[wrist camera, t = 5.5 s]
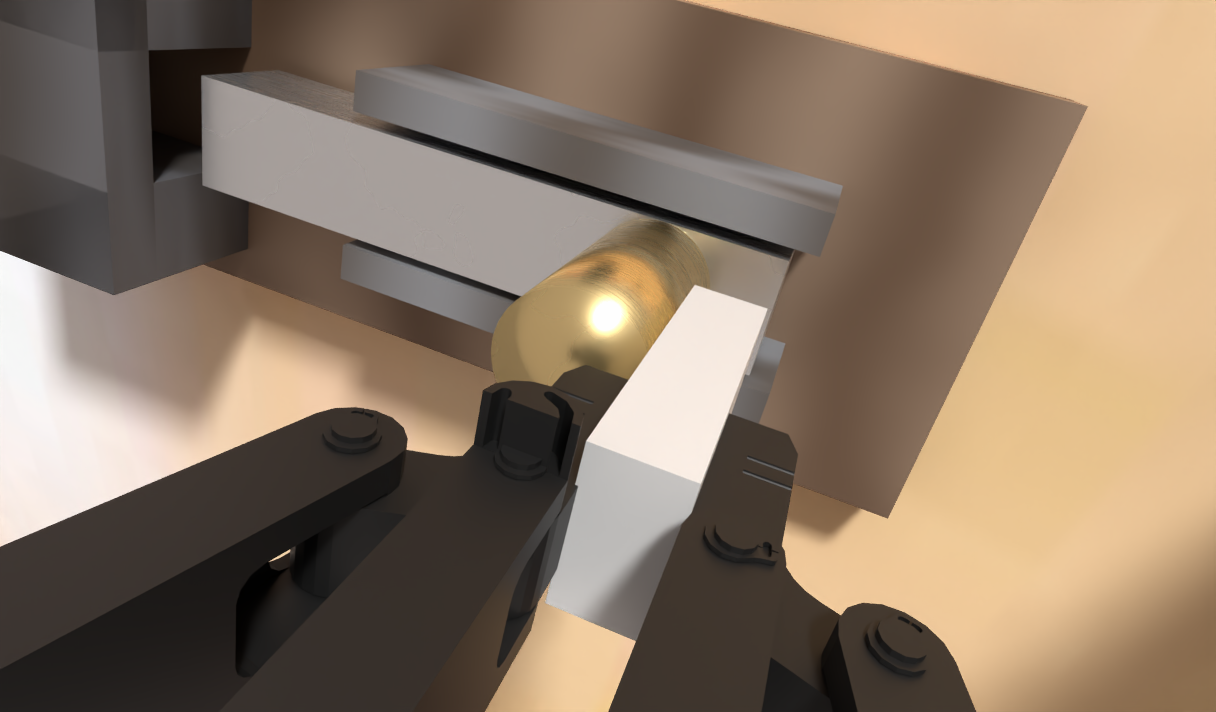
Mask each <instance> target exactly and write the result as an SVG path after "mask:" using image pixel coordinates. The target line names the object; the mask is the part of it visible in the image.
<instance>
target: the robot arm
mask: <svg viewBox="0 0 1216 712" xmlns="http://www.w3.org/2000/svg"><path fill="white" fill-rule="evenodd" d="M766 312H767V308H764V307H761V306H758V305H755V304H752V303H749V302H746V301H743V300H739V299H736V298H733V297H730V296H727V295H724V294H721V293H718V292H715V291H712V290H709V289H706V288H703V287H700V286H697V285H694V287H693V288H692V290H691V291H690V293H689V294H688V296H687V297H686V298H685V300H684V301H683V303H682V304H681V306H680V307H679V308H678V310H677V311H676V313H675V314H674V316H673V317H672V319H671V320H670V321H669V323H668V324H667V326H666V327H665V329H664V330H663V331H662V333H661V334H660V336H659V337H658V339H657V340H656V341H655V343H654V344H653V346H652V347H651V349H650V350H649V352H648V353H647V354H646V356H645V357H644V359H643V360H642V362H641V363H640V364H639V366H638V367H637V369H636V370H635V372H634V373H633V374H632V376H631V377H630V379H629V380H628V379H625V378H622V377H619V376H616V375H614V374H611V373H608V372H605V371H602V370H600V369H597V368H594V367H591V366H588V365H583V366H581V367H578V368H575V369H572V370H570V371H567V372H564V373H563V374H562V375H561V376H560V377H559V378H558V380H557V381H556V382H555V383H554V384H553V385H552V386H548V385H544V384H540V383H536V382H532V381H515V380H512V381H506V382H501V383H495V384H494V385H492V386H490V387H488V388H486V389H485V390H483V394H482V400H481V406H480V412H479V417H478V423H477V429H476V434H475V440H474V445H473V446H472V447H471V448H470V449H469V450H468V451H467V452H466V453H465V454H464V455H463V456H455V457H454V456H443V455H435V454H428V453H422V452H416V451H410V450H406V448H407V440H408V439H407V436H406V433H405V430H404V428H403V427H402V426H401V425H400V424H399V423H398V422H396V421H395V420H394V419H393V418H392V417H389V416H387V415H384V414H382V413H380V412H377V411H374V410H369V409H364V408H356V407H353V408H334V409H330V410H327V411H323V412H319V413H316V414H313V415H311V416H309V417H306V418H304V419H302V420H299V421H297V422H295V423H292V424H290V425H287V426H285V427H283V428H280V429H278V430H276V431H273V432H271V433H269V434H266V435H264V436H261V437H259V438H257V439H254V440H252V441H250V442H247V443H245V444H242V445H240V446H238V447H235V448H233V449H231V450H228V451H226V452H224V453H221V454H219V455H216V456H214V457H212V458H209V459H207V460H205V461H202V462H200V463H197V464H195V465H193V466H190V467H188V468H186V469H183V470H181V471H179V472H176V473H174V474H171V475H169V476H167V477H164V478H162V479H160V480H157V481H155V482H153V483H150V484H148V485H145V486H143V487H141V488H138V489H136V490H134V491H131V492H129V493H126V494H124V495H122V496H119V497H117V498H115V499H112V500H110V501H108V502H105V503H103V504H100V505H98V506H96V507H93V508H91V509H89V510H86V511H84V512H81V513H79V514H77V515H74V516H72V517H70V518H67V519H65V520H63V521H60V522H58V523H55V524H53V525H51V526H48V527H46V528H44V529H41V530H39V531H37V532H34V533H32V534H29V535H27V536H25V537H22V538H20V539H18V540H15V541H13V542H10V543H8V544H6V545H3V546H1V547H0V712H485V710H486V708H487V706H488V705H489V703H490V701H491V699H492V698H493V696H494V694H495V692H496V691H497V689H498V687H499V685H500V684H501V682H502V680H503V678H504V676H505V675H506V673H507V671H508V669H509V668H510V666H511V664H512V662H513V661H514V659H515V657H516V655H517V654H518V652H519V650H520V648H521V646H522V645H523V643H524V641H525V639H526V638H527V636H528V634H529V632H530V631H531V627H532V624H533V620H534V616H535V612H536V608H537V604H538V601H539V599H540V598H541V596H542V594H543V593H544V591H545V589H546V587H547V586H548V584H549V582H550V581H551V582H550V586H549V590H548V594H547V598H546V602H545V603H546V604H549V605H551V606H554V607H556V608H558V609H561V610H563V611H565V612H568V613H570V614H573V615H575V616H577V617H580V618H582V619H585V620H587V621H589V622H592V623H594V624H597V625H599V626H601V627H604V628H606V629H608V630H611V631H613V632H616V633H618V634H620V635H623V636H625V637H628V638H630V639H632V640H635V641H636V643H635V645H634V648H633V650H632V653H631V655H630V658H629V661H628V663H627V666H626V668H625V671H624V673H623V676H622V678H621V681H620V683H619V686H618V689H617V691H616V694H615V696H614V699H613V701H612V704H611V706H610V709H609V712H976V710H975V708H974V705H973V703H972V700H971V698H970V696H969V693H968V691H967V688H966V686H965V683H964V681H963V679H962V676H961V674H960V671H959V669H958V666H957V664H956V662H955V660H954V658H953V657H952V655H951V654H950V652H949V650H948V649H947V647H946V645H945V644H944V643H943V642H942V641H941V640H940V639H939V638H938V637H937V636H936V635H935V634H934V633H933V632H932V631H931V630H930V629H929V628H928V627H927V626H926V625H924V624H922V623H921V622H919V621H918V620H916V619H914V618H913V617H911V616H909V615H908V614H906V613H905V612H902V611H899V610H896V609H894V608H891V607H888V606H885V605H882V604H870V603H861V604H857V605H854V606H851V607H848V608H847V609H846V610H845V611H844V613H843V614H842V615H839V614H838V613H836V612H835V611H833V610H831V609H830V608H828V607H827V606H825V605H824V604H822V603H821V602H819V601H818V600H817V599H815V598H814V597H813V596H811V595H810V594H809V593H807V592H806V591H805V590H804V589H803V588H802V587H801V586H800V585H799V584H798V583H797V582H796V581H795V580H794V579H793V577H792V576H791V574H790V573H789V571H788V570H787V568H786V558H785V551H784V549H783V547H782V541H783V535H784V530H785V524H786V519H787V513H788V508H789V502H790V497H791V489H792V486H793V480H794V473H795V469H796V463H797V458H798V453H797V451H796V449H795V447H794V445H793V443H792V441H791V439H790V437H789V435H788V434H786V433H783V432H781V431H778V430H775V429H772V428H769V427H767V426H764V425H761V424H758V423H755V422H752V421H750V420H747V419H744V418H741V417H738V416H736V415H733V414H731V413H732V410H733V408H734V405H735V402H736V399H737V396H738V393H739V390H740V387H741V384H742V382H743V379H744V376H745V373H746V370H747V367H748V364H749V361H750V359H751V356H752V353H753V350H754V347H755V344H756V341H757V338H758V335H759V333H760V330H761V327H762V324H763V321H764V318H765V315H766ZM289 549H290V553H288V554H286V555H284V556H283V557H281V558H279V559H276V560H274V561H271V562H269V561H270V560H272V559H274V558H275V557H277V556H279V555H281V554H282V553H284V552H286V551H288V550H289Z"/></svg>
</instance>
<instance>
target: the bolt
mask: <svg viewBox="0 0 1216 712" xmlns="http://www.w3.org/2000/svg"><path fill="white" fill-rule="evenodd" d="M201 89H202V184H203V186H206V187H209V188H212V189H215V190H217V191H220V192H223V193H226V194H229V195H232V196H235V197H237V198H240V199H243V200H246V201H249V202H252V203H255V204H258V205H260V206H263V207H266V208H269V209H272V210H275V211H278V212H281V213H283V214H286V215H289V216H292V217H295V218H298V219H301V220H304V221H306V222H309V223H312V224H315V225H318V226H321V227H324V228H327V229H329V230H332V231H335V232H338V233H341V234H344V235H347V236H349V237H352V238H355V239H358V240H361V241H364V242H367V243H370V244H372V245H375V246H378V247H381V248H384V249H387V250H390V251H393V252H395V253H398V254H401V255H404V256H407V257H410V258H413V259H416V260H418V261H421V262H424V263H427V264H430V265H433V266H436V267H438V268H441V269H444V270H447V271H450V272H453V273H456V274H459V275H461V276H464V277H467V278H470V279H473V280H476V281H479V282H482V283H484V284H487V285H490V286H493V287H496V288H499V289H502V290H505V291H507V292H510V293H513V294H516V295H519V296H521V297H520V298H519V299H517V300H516V301H515V302H514V303H513V304H511V305H510V306H509V307H508V308H507V310H506V311H505V312H504V313H503V315H502V316H501V318H500V320H499V321H498V323H497V326H496V328H495V331H494V334H493V338H492V346H491V361H492V367H493V372H494V375H495V379H496V381H497V383H501V382H506V381H512V380H515V381H532V382H536V383H540V384H544V385H548V386H552V385H553V384H554V383H555V382H556V381H557V380H558V378H559V377H560V376H561V375H562V374H563V373H564V372H567V371H570V370H572V369H575V368H578V367H581V366H583V365H588V366H591V367H594V368H597V369H600V370H602V371H605V372H608V373H611V374H614V375H616V376H619V377H622V378H625V379H628V380H629V379H630V377H631V376H632V374H633V373H634V372H635V370H636V369H637V367H638V366H639V364H640V363H641V362H642V360H643V359H644V357H645V356H646V354H647V353H648V352H649V350H650V349H651V347H652V346H653V344H654V343H655V341H656V340H657V339H658V337H659V336H660V334H661V333H662V331H663V330H664V329H665V327H666V326H667V324H668V323H669V321H670V320H671V319H672V317H673V316H674V314H675V313H676V311H677V310H678V308H679V307H680V306H681V304H682V303H683V301H684V300H685V298H686V297H687V296H688V294H689V293H690V291H691V290H692V288H693V287H694V285H697V286H700V287H703V288H706V289H709V290H712V291H715V292H718V293H721V294H724V295H727V296H730V297H733V298H736V299H739V300H743V301H746V302H749V303H752V304H755V305H758V306H761V307H764V308H767V312H766V315H765V318H764V321H763V324H762V327H761V330H760V333H759V335H758V338H757V341H756V344H755V347H754V350H753V353H752V356H751V359H750V361H749V364H748V367H747V370H746V373H745V374H746V375H750V373H751V370H752V367H753V365H754V362H755V360H756V357H757V355H758V352H759V349H760V347H761V344H762V342H763V339H764V337H765V334H766V331H767V328H768V325H769V323H770V320H771V317H772V314H773V311H774V308H775V305H776V303H777V300H778V297H779V294H780V291H781V288H782V285H783V283H784V280H785V277H786V274H787V271H788V268H789V265H790V262H791V260H792V257H793V254H794V251H795V249H792V248H789V247H786V246H783V245H779V244H776V243H773V242H770V241H767V240H763V239H760V238H757V237H754V236H751V235H747V234H744V233H741V232H738V231H735V230H731V229H728V228H725V227H722V226H719V225H716V224H712V223H709V222H706V221H703V220H700V219H696V218H693V217H690V216H687V215H684V214H680V213H677V212H674V211H671V210H668V209H664V208H661V207H658V206H655V205H652V204H648V203H645V202H642V201H639V200H636V199H632V198H629V197H626V196H623V195H620V194H616V193H613V192H610V191H607V190H604V189H600V188H597V187H594V186H591V185H588V184H584V183H581V182H578V181H575V180H572V179H568V178H565V177H562V176H559V175H556V174H552V173H549V172H546V171H543V170H540V169H536V168H533V167H530V166H527V165H524V164H520V163H517V162H514V161H511V160H508V159H505V158H501V157H498V156H495V155H492V154H489V153H485V152H482V151H479V150H476V149H473V148H469V147H466V146H463V145H460V144H457V143H453V142H450V141H447V140H444V139H441V138H437V137H434V136H431V135H428V134H425V133H421V132H418V131H415V130H412V129H409V128H405V127H402V126H399V125H396V124H393V123H389V122H386V121H383V120H380V119H377V118H373V117H370V116H367V115H364V114H361V113H357V112H354V111H353V103H354V93H351V92H348V91H345V90H342V89H338V88H335V87H332V86H329V85H325V84H322V83H319V82H316V81H312V80H309V79H306V78H303V77H299V76H296V75H293V74H290V73H286V72H283V71H280V70H273V71H258V72H244V73H229V74H215V75H201Z"/></svg>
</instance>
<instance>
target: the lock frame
mask: <svg viewBox="0 0 1216 712" xmlns="http://www.w3.org/2000/svg"><path fill="white" fill-rule="evenodd" d="M273 70H280V71H283V72H286V73H290V74H293V75H296V76H299V77H303V78H306V79H309V80H312V81H316V82H319V83H322V84H325V85H329V86H332V87H335V88H338V89H342V90H345V91H348V92H351V93H354V103H353V111H354V112H357V113H361V114H364V115H367V116H370V117H373V118H377V119H380V120H383V121H386V122H389V123H393V124H396V125H399V126H402V127H405V128H409V129H412V130H415V131H418V132H421V133H425V134H428V135H431V136H434V137H437V138H441V139H444V140H447V141H450V142H453V143H457V144H460V145H463V146H466V147H469V148H473V149H476V150H479V151H482V152H485V153H489V154H492V155H495V156H498V157H501V158H505V159H508V160H511V161H514V162H517V163H520V164H524V165H527V166H530V167H533V168H536V169H540V170H543V171H546V172H549V173H552V174H556V175H559V176H562V177H565V178H568V179H572V180H575V181H578V182H581V183H584V184H588V185H591V186H594V187H597V188H600V189H604V190H607V191H610V192H613V193H616V194H620V195H623V196H626V197H629V198H632V199H636V200H639V201H642V202H645V203H648V204H652V205H655V206H658V207H661V208H664V209H668V210H671V211H674V212H677V213H680V214H684V215H687V216H690V217H693V218H696V219H700V220H703V221H706V222H709V223H712V224H716V225H719V226H722V227H725V228H728V229H731V230H735V231H738V232H741V233H744V234H747V235H751V236H754V237H757V238H760V239H763V240H767V241H770V242H773V243H776V244H779V245H783V246H786V247H789V248H792V249H795V251H794V254H793V257H792V260H791V262H790V265H789V268H788V271H787V274H786V277H785V280H784V283H783V285H782V288H781V291H780V294H779V297H778V300H777V303H776V305H775V308H774V311H773V314H772V317H771V320H770V323H769V325H768V328H767V331H766V334H765V337H764V339H763V342H762V344H761V347H760V349H759V352H758V355H757V357H756V360H755V362H754V365H753V367H752V370H751V373H750V375H746V374H745V376H744V379H743V382H742V384H741V387H740V390H739V393H738V396H737V399H736V402H735V405H734V408H733V410H732V413H731V414H733V415H736V416H738V417H741V418H744V419H747V420H750V421H752V422H755V423H758V424H761V425H764V426H767V427H769V428H772V429H775V430H778V431H781V432H783V433H786V434H788V435H789V437H790V439H791V441H792V443H793V445H794V447H795V449H796V451H797V453H798V458H797V463H796V469H795V473H794V480H793V484H796V485H799V486H802V487H804V488H807V489H810V490H812V491H815V492H818V493H820V494H823V495H826V496H829V497H831V498H834V499H837V500H839V501H842V502H845V503H847V504H850V505H853V506H855V507H858V508H861V509H864V510H866V511H869V512H872V513H874V514H877V515H880V516H882V517H885V518H888V517H889V515H890V513H891V511H892V509H893V507H894V505H895V503H896V501H897V498H898V496H899V494H900V492H901V490H902V488H903V486H904V484H905V482H906V480H907V478H908V476H909V474H910V472H911V470H912V468H913V465H914V463H915V461H916V459H917V457H918V455H919V453H920V451H921V449H922V447H923V445H924V443H925V441H926V439H927V437H928V435H929V433H930V430H931V428H932V426H933V424H934V422H935V420H936V418H937V416H938V414H939V412H940V410H941V408H942V406H943V404H944V402H945V400H946V398H947V395H948V393H949V391H950V389H951V387H952V385H953V383H954V381H955V379H956V377H957V375H958V373H959V371H960V369H961V367H962V365H963V363H964V360H965V358H966V356H967V354H968V352H969V350H970V348H971V346H972V344H973V342H974V340H975V338H976V336H977V334H978V332H979V330H980V327H981V325H982V323H983V321H984V319H985V317H986V315H987V313H988V311H989V309H990V307H991V305H992V303H993V301H994V299H995V297H996V295H997V292H998V290H999V288H1000V286H1001V284H1002V282H1003V280H1004V278H1005V276H1006V274H1007V272H1008V270H1009V268H1010V266H1011V264H1012V262H1013V260H1014V257H1015V255H1016V253H1017V251H1018V249H1019V247H1020V245H1021V243H1022V241H1023V239H1024V237H1025V235H1026V233H1027V231H1028V229H1029V227H1030V225H1031V222H1032V220H1033V218H1034V216H1035V214H1036V212H1037V210H1038V208H1039V206H1040V204H1041V202H1042V200H1043V198H1044V196H1045V194H1046V192H1047V189H1048V187H1049V185H1050V183H1051V181H1052V179H1053V177H1054V175H1055V173H1056V171H1057V169H1058V167H1059V165H1060V163H1061V161H1062V159H1063V157H1064V154H1065V152H1066V150H1067V148H1068V146H1069V144H1070V142H1071V140H1072V138H1073V136H1074V134H1075V132H1076V130H1077V128H1078V126H1079V124H1080V122H1081V119H1082V117H1083V115H1084V113H1085V111H1086V109H1087V107H1088V106H1085V105H1082V104H1080V103H1077V102H1075V101H1072V100H1069V99H1066V98H1062V97H1058V96H1054V95H1050V94H1046V93H1042V92H1038V91H1035V90H1031V89H1027V88H1023V87H1019V86H1015V85H1011V84H1007V83H1003V82H1000V81H996V80H992V79H988V78H984V77H980V76H976V75H972V74H969V73H965V72H961V71H957V70H953V69H949V68H945V67H941V66H938V65H934V64H930V63H926V62H922V61H918V60H914V59H910V58H907V57H903V56H899V55H895V54H891V53H887V52H883V51H879V50H876V49H872V48H868V47H864V46H860V45H856V44H852V43H848V42H845V41H841V40H837V39H833V38H829V37H825V36H821V35H817V34H813V33H810V32H806V31H802V30H798V29H794V28H790V27H786V26H782V25H779V24H775V23H771V22H767V21H763V20H759V19H755V18H751V17H748V16H744V15H740V14H736V13H732V12H728V11H724V10H720V9H717V8H713V7H709V6H705V5H701V4H697V3H693V2H689V1H686V0H0V251H2V252H5V253H7V254H10V255H13V256H15V257H18V258H20V259H23V260H25V261H28V262H30V263H33V264H36V265H38V266H41V267H43V268H46V269H48V270H51V271H54V272H56V273H59V274H61V275H64V276H66V277H69V278H71V279H74V280H77V281H79V282H82V283H84V284H87V285H89V286H92V287H94V288H97V289H100V290H102V291H105V292H107V293H110V294H112V295H116V294H119V293H122V292H125V291H127V290H130V289H133V288H136V287H139V286H142V285H145V284H148V283H151V282H153V281H156V280H159V279H162V278H165V277H168V276H171V275H174V274H177V273H179V272H182V271H185V270H188V269H191V268H194V267H197V266H200V265H203V264H204V265H206V266H209V267H212V268H214V269H217V270H220V271H222V272H225V273H228V274H231V275H233V276H236V277H239V278H241V279H244V280H247V281H249V282H252V283H255V284H257V285H260V286H263V287H266V288H268V289H271V290H274V291H276V292H279V293H282V294H284V295H287V296H290V297H292V298H295V299H298V300H301V301H303V302H306V303H309V304H311V305H314V306H317V307H319V308H322V309H325V310H328V311H330V312H333V313H336V314H338V315H341V316H344V317H346V318H349V319H352V320H354V321H357V322H360V323H363V324H365V325H368V326H371V327H373V328H376V329H379V330H381V331H384V332H387V333H389V334H392V335H395V336H398V337H400V338H403V339H406V340H408V341H411V342H414V343H416V344H419V345H422V346H424V347H427V348H430V349H433V350H435V351H438V352H441V353H443V354H446V355H449V356H451V357H454V358H457V359H459V360H462V361H465V362H468V363H470V364H473V365H476V366H478V367H481V368H484V369H486V370H489V371H492V372H493V367H492V361H491V346H492V338H493V334H494V331H495V328H496V326H497V323H498V321H499V320H500V318H501V316H502V315H503V313H504V312H505V311H506V310H507V308H508V307H509V306H510V305H511V304H513V303H514V302H515V301H516V300H517V299H519V298H520V297H521V296H519V295H516V294H513V293H510V292H507V291H505V290H502V289H499V288H496V287H493V286H490V285H487V284H484V283H482V282H479V281H476V280H473V279H470V278H467V277H464V276H461V275H459V274H456V273H453V272H450V271H447V270H444V269H441V268H438V267H436V266H433V265H430V264H427V263H424V262H421V261H418V260H416V259H413V258H410V257H407V256H404V255H401V254H398V253H395V252H393V251H390V250H387V249H384V248H381V247H378V246H375V245H372V244H370V243H367V242H364V241H361V240H358V239H355V238H352V237H349V236H347V235H344V234H341V233H338V232H335V231H332V230H329V229H327V228H324V227H321V226H318V225H315V224H312V223H309V222H306V221H304V220H301V219H298V218H295V217H292V216H289V215H286V214H283V213H281V212H278V211H275V210H272V209H269V208H266V207H263V206H260V205H258V204H255V203H252V202H249V201H246V200H243V199H240V198H237V197H235V196H232V195H229V194H226V193H223V192H220V191H217V190H215V189H212V188H209V187H206V186H203V184H202V89H201V75H215V74H229V73H244V72H258V71H273Z"/></svg>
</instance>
